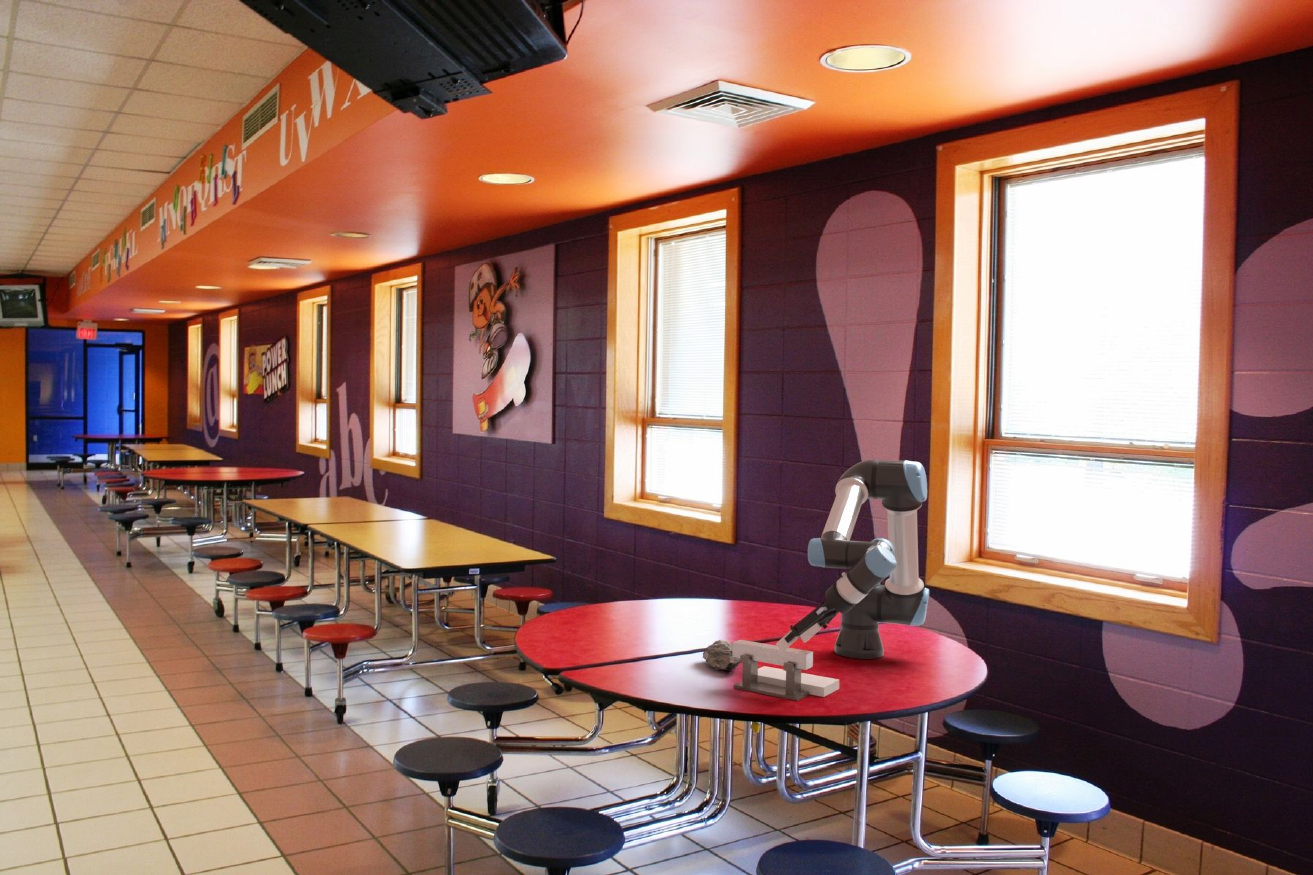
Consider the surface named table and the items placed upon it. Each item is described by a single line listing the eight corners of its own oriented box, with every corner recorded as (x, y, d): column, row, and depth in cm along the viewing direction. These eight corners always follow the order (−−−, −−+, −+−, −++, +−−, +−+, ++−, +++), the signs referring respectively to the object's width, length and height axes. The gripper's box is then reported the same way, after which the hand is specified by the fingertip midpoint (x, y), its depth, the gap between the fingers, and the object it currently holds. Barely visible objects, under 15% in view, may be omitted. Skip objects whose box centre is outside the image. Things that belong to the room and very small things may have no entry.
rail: (739, 653, 267) (739, 639, 267) (812, 666, 254) (813, 651, 254) (732, 656, 263) (732, 642, 263) (806, 669, 251) (806, 654, 251)
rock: (691, 654, 288) (710, 627, 291) (711, 673, 291) (730, 646, 294) (722, 669, 272) (742, 641, 274) (743, 689, 275) (763, 660, 278)
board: (764, 674, 276) (764, 666, 276) (839, 688, 263) (839, 679, 263) (747, 682, 268) (747, 673, 268) (823, 696, 255) (824, 687, 255)
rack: (746, 682, 267) (747, 649, 267) (809, 694, 256) (810, 660, 256) (733, 687, 261) (734, 654, 261) (797, 700, 251) (798, 665, 251)
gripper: (855, 575, 259) (802, 624, 267) (816, 587, 238) (760, 639, 246) (873, 598, 256) (819, 646, 264) (835, 612, 235) (778, 663, 244)
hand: (790, 643), depth 255 cm, fingers open, 13 cm apart
